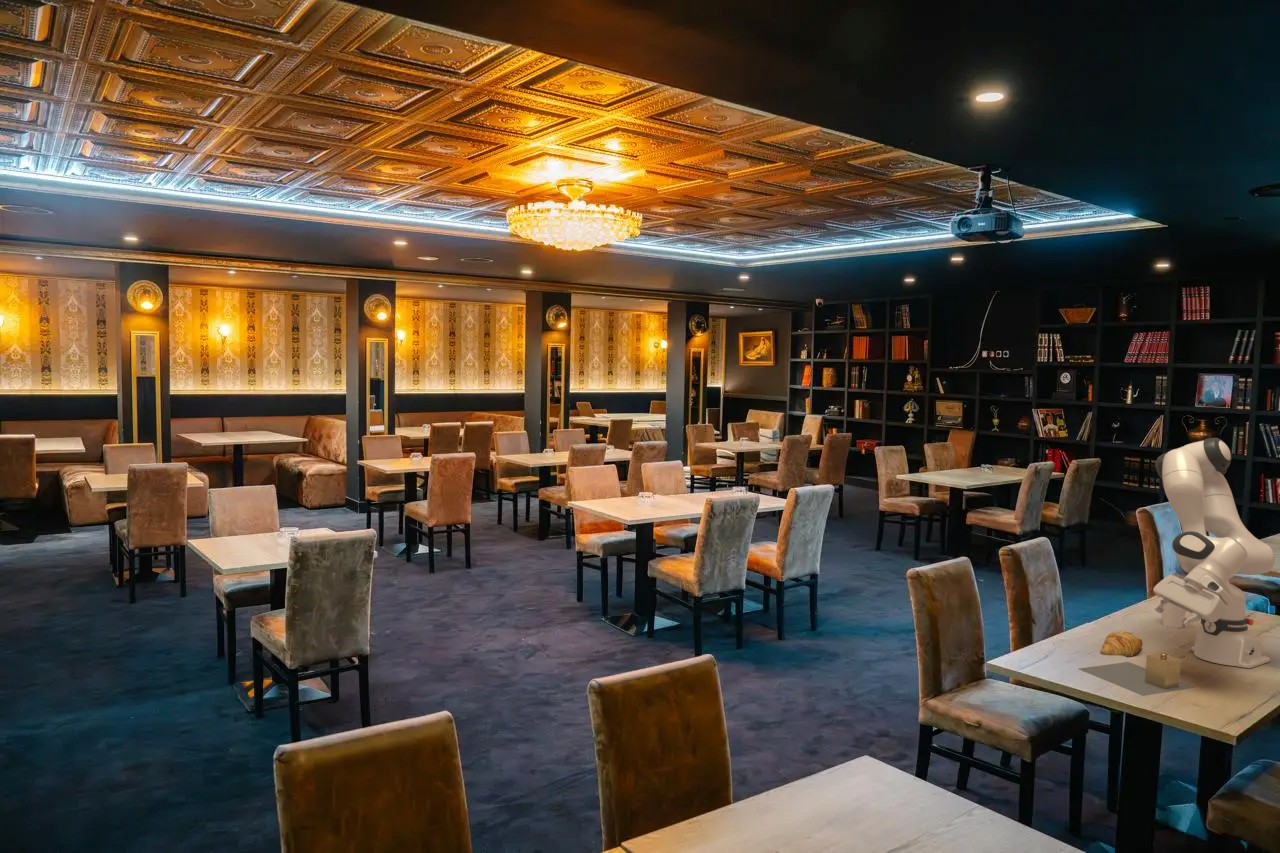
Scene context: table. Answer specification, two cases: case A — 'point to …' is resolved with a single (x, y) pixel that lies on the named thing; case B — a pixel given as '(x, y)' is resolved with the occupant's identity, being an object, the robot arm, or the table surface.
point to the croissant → (1121, 644)
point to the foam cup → (1172, 616)
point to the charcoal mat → (1130, 678)
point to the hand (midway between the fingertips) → (1170, 617)
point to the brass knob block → (1162, 670)
